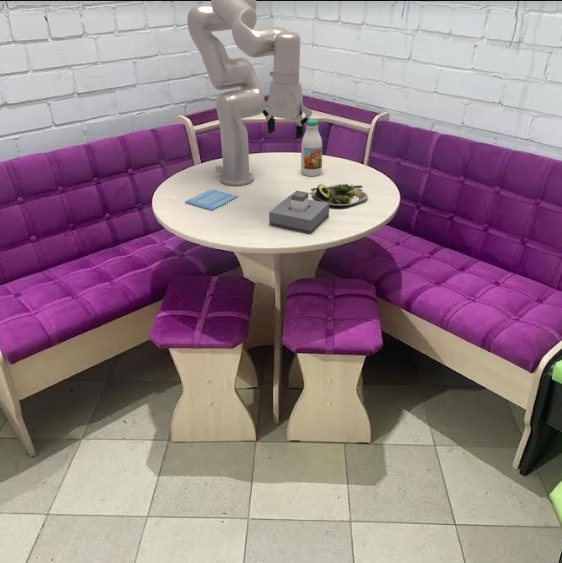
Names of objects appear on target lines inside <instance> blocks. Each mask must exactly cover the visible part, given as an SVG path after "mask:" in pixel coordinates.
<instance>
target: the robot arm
mask: <svg viewBox="0 0 562 563" xmlns="http://www.w3.org/2000/svg"><path fill="white" fill-rule="evenodd" d="M256 11H257V0H211V1H210V3H203V4H198V5H195V6H193V7H191V9H190V10H189V11H188V14H187V17H186V18H187V20H186V22H187V29H188V32H189V36H190V38H191V39H192V41H193V44H194V45H195V47H196V49H197V50H198V52H199V54H200V56H201V58H202V61H203V64H204V68H205V70H206V73H207V75H208V78H209V81H210V82H211V85H212V87H213V88H214V89H215V90H217V91H224V90H229V91H225V92H223V93H221V94H219V95H218V96H217V97H216V99H215V110H216V113H217V118H218V122H219V129H220V141H221V142H220V143H221V155H222V156H221V158H222V165H220V164H217V165H216V166H215V170H214V171H215V173H220V176H219V182H220V183H221V184H223V185H226V186H231V187H232V186H234V187H236V186H237V187H239V186H244V185H245V186H246V185H248V184H251V183H252V182H254V179H255V176H254V174H253V173H252V172H250V154H249V152H250V151H249V137H248V136H249V135H248V134H249V133H248V130H247V127H246V126H245V125H244V123H243V122H242V120H243V119H247V118H253V117H255V116H259V115H261V114H262V115H263V116H264V117H265V120H266V121H267V124H266V125H267V126H266V127H267V133H268V134H271V133H274V132H275V131H276V119H275V118H279V119H285V120H289V121H290V120H291V121H293V120H294V121H295V122H296V124H297V125H296V126H295V139H297V140H299V139H301V138H303V136H304V125H306V122H307V121H308V120H309V119H311V117H312V115H313V111H312V110H310V109H309V108H308V107H307V106H306V105H304V102H303V101H304V100H303V99H304V98H303V89H302V84H301V83H300V64H301V63H300V59H301V36H300V34H298V32H294V31H289V30H287V29H286V28H285V27H282V26H274V27H263V28H262V27H261V28H255V26H256V23H257V19H258V18H257V17H258V16H257V15H258V14H257V12H256ZM254 28H255V29H254ZM222 31H231V33H232V39H233V41H234V43H235V45H236V46H237V48H238V49H239V50H240V51H242V53H244V54H245V55H247V56H248V57H251V58H263V57H268V56H273V70H272V71H270V73H269V76H270V77H272V81H271V82H270V86H269V90H268V96H267V100H266V101H265V96H264V93H263V90H262V88H261V85H260V81H259V80H258V76H257V73H256V71H255V68H254V66H253V64H252V63H251V62H250V61H249V60H248V59H246V58H243V57H237V58H230V57H229V55H228V52H227V50H226V47H225V45H224V44H223V42H221V40H220V39H219V38H217V36H215V35H214V34H213V33H212V32H222ZM237 88H240V89H237ZM233 89H236V90H233ZM303 114H305V116H304V117H303Z"/></svg>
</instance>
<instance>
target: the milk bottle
mask: <svg viewBox="0 0 562 563" xmlns="http://www.w3.org/2000/svg"><path fill="white" fill-rule="evenodd" d="M319 124H320V123H319V119H317V118H309V120H308V121H307V122H306V123H305V127H306V129H305V131H304V132H305V133H303V136H302V139H301V158H300V160H301V161H300V162H301V163H300V165H301V166H300V168H301V170H300V172H301V174H302V175H303V176H307V177H316V176H320V175H321V174H322V172H323V171H322V170H323V140H322V136H321V134H320V132H319Z"/></svg>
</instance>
